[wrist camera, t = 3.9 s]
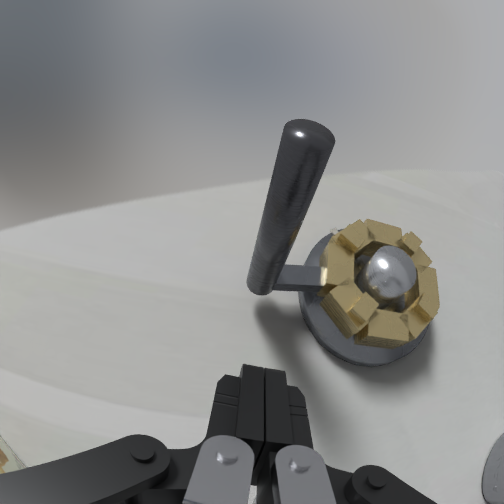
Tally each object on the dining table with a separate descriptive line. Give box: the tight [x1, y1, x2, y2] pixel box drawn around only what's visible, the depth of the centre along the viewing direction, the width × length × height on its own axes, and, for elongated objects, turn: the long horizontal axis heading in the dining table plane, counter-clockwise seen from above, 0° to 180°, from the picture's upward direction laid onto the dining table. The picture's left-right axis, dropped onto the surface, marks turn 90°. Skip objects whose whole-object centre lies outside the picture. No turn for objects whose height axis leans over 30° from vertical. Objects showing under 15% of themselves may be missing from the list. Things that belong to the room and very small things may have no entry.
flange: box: [298, 228, 429, 366], centre depth 24 cm, size 13×13×6 cm
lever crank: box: [247, 119, 440, 349], centre depth 19 cm, size 16×11×14 cm, turn 80°
